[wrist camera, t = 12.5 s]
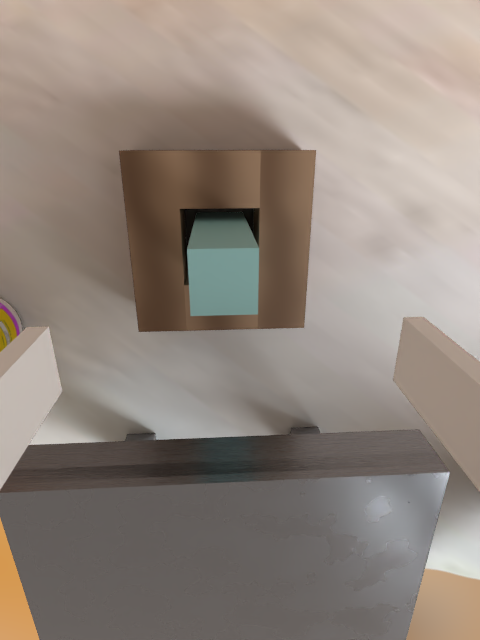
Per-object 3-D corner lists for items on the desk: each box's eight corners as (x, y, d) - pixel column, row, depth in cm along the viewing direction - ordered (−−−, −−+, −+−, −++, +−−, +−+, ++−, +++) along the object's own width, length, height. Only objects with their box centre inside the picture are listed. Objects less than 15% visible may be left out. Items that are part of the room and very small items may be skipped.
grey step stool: (342, 324, 40) (450, 472, 22) (328, 451, 46) (403, 649, 28) (97, 330, 39) (-8, 493, 20) (117, 460, 45) (50, 674, 27)
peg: (242, 211, 35) (259, 248, 22) (242, 256, 37) (257, 314, 24) (196, 212, 35) (187, 249, 22) (198, 257, 37) (190, 316, 24)
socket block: (302, 150, 34) (315, 150, 29) (293, 306, 39) (304, 327, 34) (132, 150, 33) (119, 150, 28) (147, 309, 38) (138, 331, 34)
